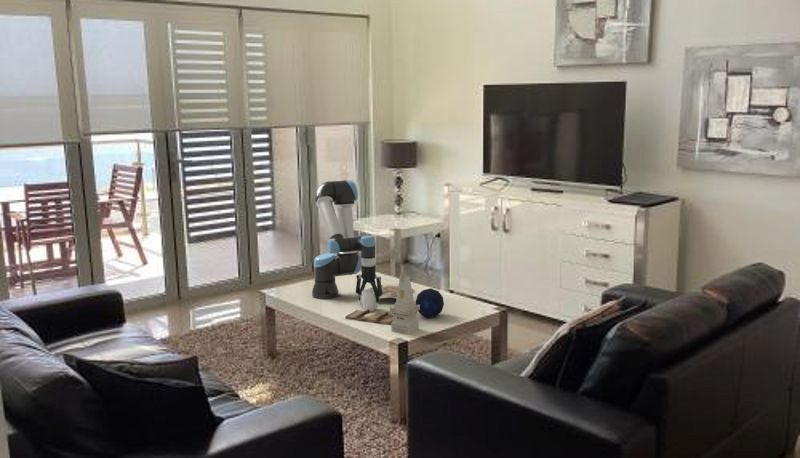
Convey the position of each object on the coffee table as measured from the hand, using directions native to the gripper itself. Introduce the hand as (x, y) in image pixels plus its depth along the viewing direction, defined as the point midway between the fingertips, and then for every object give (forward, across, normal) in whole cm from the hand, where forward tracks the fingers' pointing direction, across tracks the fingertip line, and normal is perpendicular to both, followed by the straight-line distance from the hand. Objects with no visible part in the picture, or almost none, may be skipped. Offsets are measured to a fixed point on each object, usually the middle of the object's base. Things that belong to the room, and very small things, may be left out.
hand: (369, 307), depth 369 cm
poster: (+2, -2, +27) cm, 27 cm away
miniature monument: (+1, +32, -23) cm, 39 cm away
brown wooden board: (+1, +9, -13) cm, 16 cm away
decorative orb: (+1, +34, +2) cm, 34 cm away
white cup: (+1, 0, 0) cm, 1 cm away
